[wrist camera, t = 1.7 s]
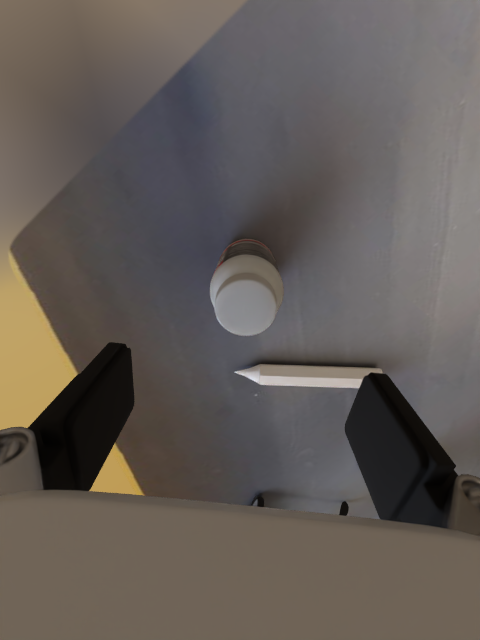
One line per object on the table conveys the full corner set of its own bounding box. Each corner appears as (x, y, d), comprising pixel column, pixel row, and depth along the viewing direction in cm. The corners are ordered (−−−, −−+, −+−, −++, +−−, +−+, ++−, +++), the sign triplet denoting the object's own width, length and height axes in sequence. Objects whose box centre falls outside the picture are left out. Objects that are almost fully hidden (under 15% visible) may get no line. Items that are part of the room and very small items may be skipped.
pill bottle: (214, 242, 25) (195, 273, 16) (272, 233, 24) (286, 261, 15) (224, 296, 27) (212, 350, 18) (277, 290, 27) (292, 341, 18)
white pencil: (234, 362, 31) (373, 367, 31) (234, 380, 31) (373, 385, 31) (233, 364, 29) (385, 369, 28) (232, 384, 29) (385, 390, 28)
